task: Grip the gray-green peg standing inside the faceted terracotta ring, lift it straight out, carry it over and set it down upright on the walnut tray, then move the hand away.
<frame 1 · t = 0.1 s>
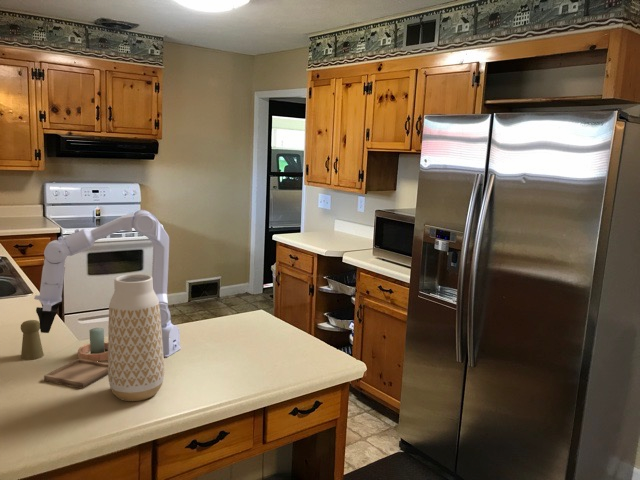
hand: (46, 328, 156), 11 cm above the counter, tool pointing down, fingers open, 7 cm apart
gray-green peg: (97, 342, 164), in the faceted terracotta ring
olive pepper mill: (32, 356, 162), on the counter
walnut tray: (81, 375, 150), on the counter
faceted terracotta ring: (97, 355, 165), on the counter
vase: (137, 393, 140), on the counter
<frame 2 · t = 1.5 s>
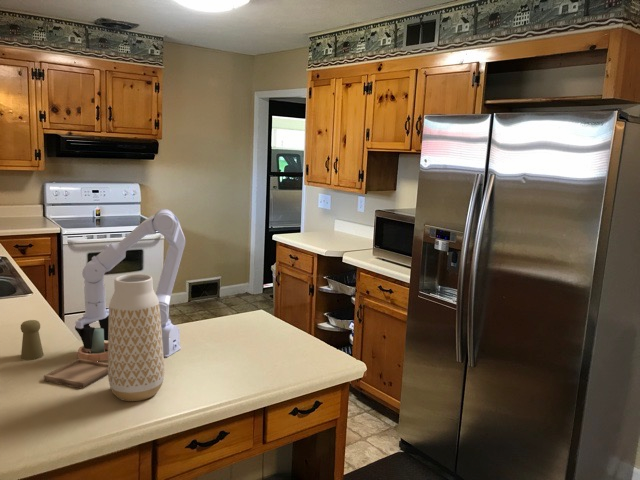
hand: (97, 344, 164), 3 cm above the counter, tool pointing down, fingers open, 7 cm apart
nothing on the counter moved.
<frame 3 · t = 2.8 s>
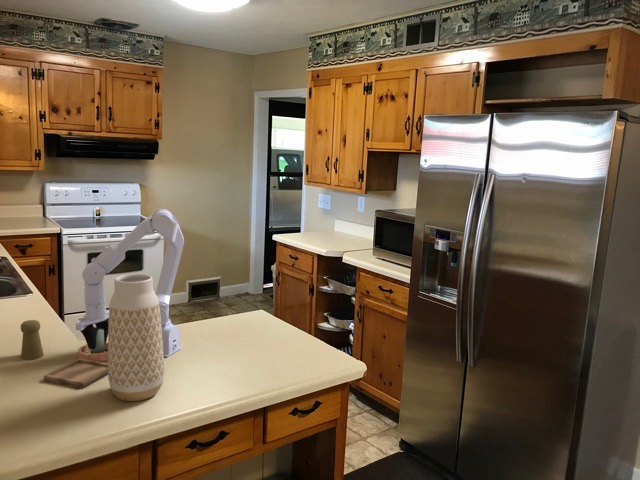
hand: (97, 345, 164), 3 cm above the counter, tool pointing down, fingers closed on gray-green peg, 4 cm apart
gray-green peg: (97, 342, 164), in the faceted terracotta ring, touching gripper
everything else where it was.
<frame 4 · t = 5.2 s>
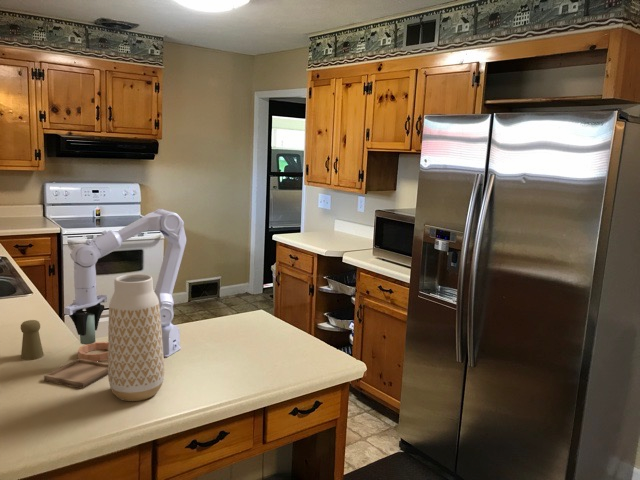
hand: (87, 332, 155), 10 cm above the counter, tool pointing down, fingers closed on gray-green peg, 4 cm apart
gray-green peg: (87, 328, 155), point 11 cm above the counter, touching gripper
everything else where it was.
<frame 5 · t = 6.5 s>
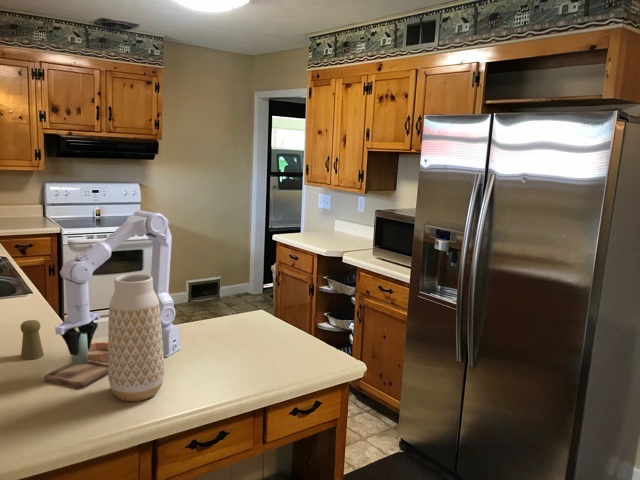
hand: (80, 351, 149), 7 cm above the counter, tool pointing down, fingers closed on gray-green peg, 4 cm apart
gray-green peg: (79, 347, 149), point 8 cm above the counter, touching gripper
everything else where it was.
when the fingers open (5 cm above the counter, at t = 7.7 s): gray-green peg drops 1 cm, resting on walnut tray.
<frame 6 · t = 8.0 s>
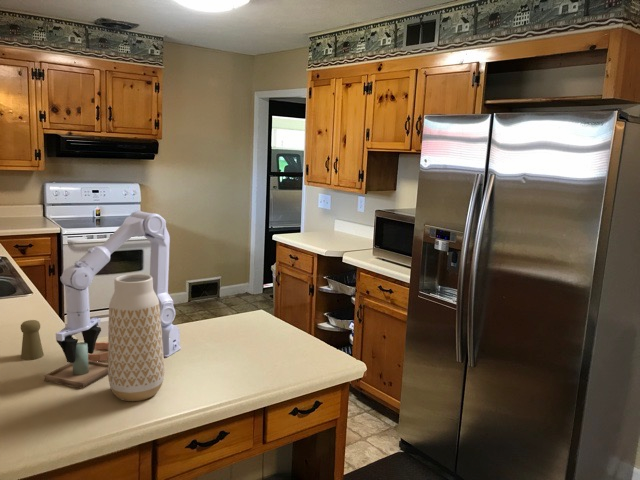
hand: (80, 357, 149), 5 cm above the counter, tool pointing down, fingers open, 6 cm apart
gray-green peg: (80, 358, 149), point 5 cm above the counter, touching walnut tray
everything else where it was.
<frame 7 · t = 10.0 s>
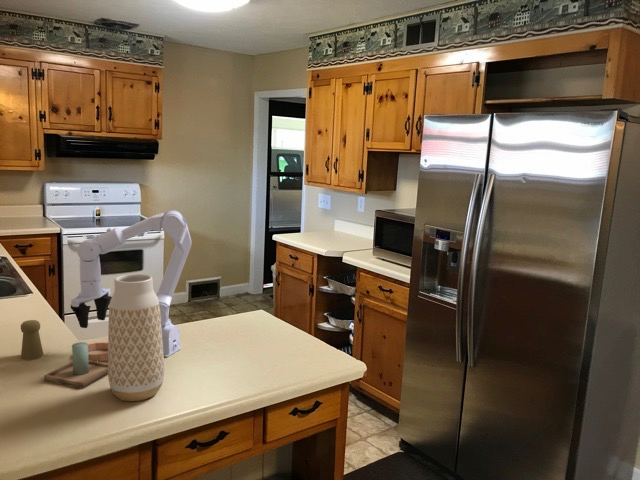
hand: (92, 323, 163), 10 cm above the counter, tool pointing down, fingers open, 7 cm apart
nothing on the counter moved.
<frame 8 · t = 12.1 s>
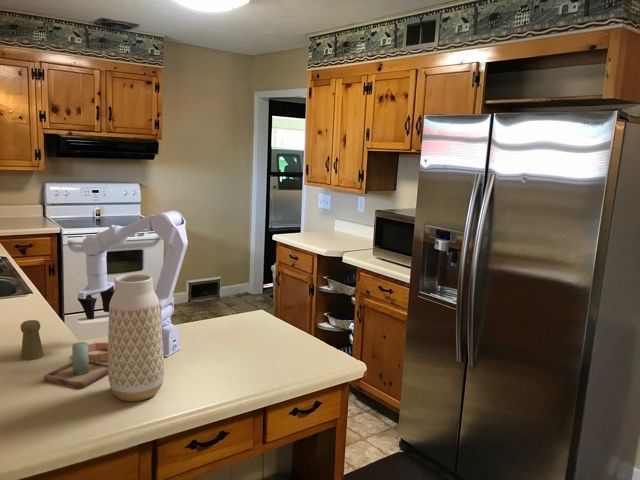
hand: (98, 315, 171), 10 cm above the counter, tool pointing down, fingers open, 7 cm apart
nothing on the counter moved.
at the end: gray-green peg inside the target area on the walnut tray (0.1 cm from its centre), point 4.8 cm above the walnut tray's base; gray-green peg tilted 1°; the gripper is holding nothing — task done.
